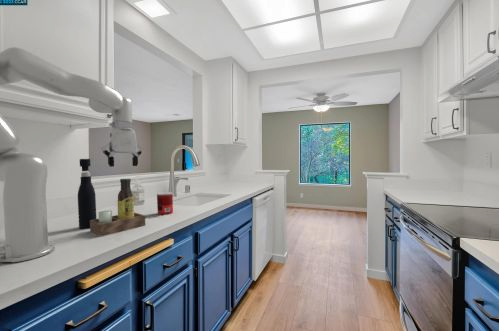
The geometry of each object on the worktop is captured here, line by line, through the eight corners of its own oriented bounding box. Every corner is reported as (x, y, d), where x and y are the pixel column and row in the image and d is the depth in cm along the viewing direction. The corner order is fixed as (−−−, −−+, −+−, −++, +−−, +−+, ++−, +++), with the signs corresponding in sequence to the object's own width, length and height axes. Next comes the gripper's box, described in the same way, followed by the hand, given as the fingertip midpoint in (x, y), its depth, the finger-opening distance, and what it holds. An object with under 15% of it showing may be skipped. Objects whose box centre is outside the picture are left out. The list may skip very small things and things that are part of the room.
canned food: (175, 211, 128) (174, 191, 128) (168, 215, 120) (167, 194, 120) (163, 211, 129) (162, 192, 129) (154, 215, 121) (153, 194, 121)
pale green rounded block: (101, 231, 91) (101, 213, 91) (97, 229, 94) (96, 212, 94) (114, 228, 95) (113, 211, 95) (109, 226, 98) (109, 210, 98)
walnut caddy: (101, 236, 88) (100, 224, 88) (90, 231, 95) (89, 220, 95) (145, 225, 102) (145, 215, 102) (133, 221, 109) (132, 212, 109)
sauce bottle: (127, 226, 97) (125, 179, 97) (114, 225, 99) (112, 179, 98) (137, 222, 104) (136, 178, 103) (125, 221, 105) (124, 178, 104)
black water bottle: (98, 226, 102) (95, 158, 101) (80, 230, 97) (77, 158, 96) (94, 224, 106) (91, 159, 106) (77, 227, 102) (74, 159, 101)
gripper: (103, 123, 91) (105, 166, 91) (146, 127, 105) (147, 165, 105) (96, 125, 96) (97, 166, 96) (138, 129, 109) (139, 165, 109)
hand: (123, 166), depth 100 cm, fingers open, 9 cm apart
